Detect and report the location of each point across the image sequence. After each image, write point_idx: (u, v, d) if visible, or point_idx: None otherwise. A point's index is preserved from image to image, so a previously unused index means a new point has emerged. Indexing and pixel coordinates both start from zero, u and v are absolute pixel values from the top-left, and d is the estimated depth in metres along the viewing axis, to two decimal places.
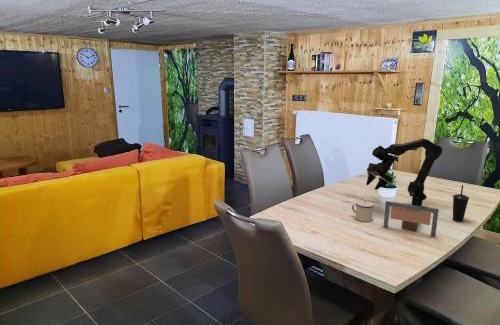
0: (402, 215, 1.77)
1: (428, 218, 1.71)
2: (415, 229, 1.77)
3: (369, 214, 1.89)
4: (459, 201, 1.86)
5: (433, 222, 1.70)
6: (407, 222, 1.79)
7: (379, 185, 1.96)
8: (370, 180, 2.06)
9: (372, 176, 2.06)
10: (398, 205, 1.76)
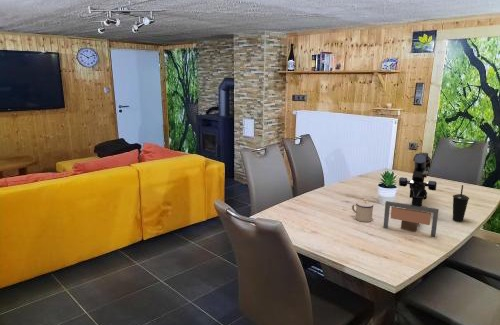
0: (402, 215, 1.77)
1: (428, 218, 1.71)
2: (414, 229, 1.77)
3: (369, 214, 1.89)
4: (459, 201, 1.86)
5: (433, 222, 1.70)
6: (406, 222, 1.79)
7: (418, 192, 1.92)
8: (415, 192, 1.93)
9: (415, 187, 1.94)
10: (398, 205, 1.76)
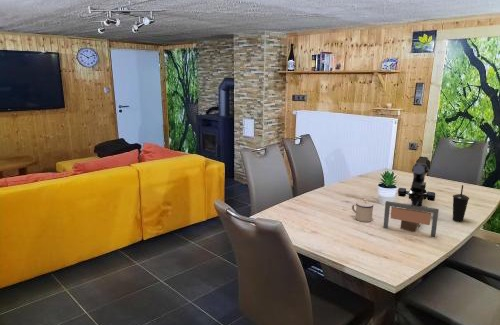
0: (402, 215, 1.77)
1: (428, 218, 1.71)
2: (414, 229, 1.77)
3: (369, 214, 1.89)
4: (459, 201, 1.86)
5: (433, 222, 1.70)
6: (406, 222, 1.79)
7: (417, 203, 1.93)
8: (414, 202, 1.94)
9: (414, 198, 1.95)
10: (398, 205, 1.76)
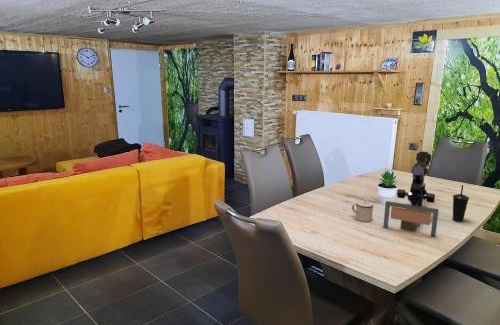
0: (402, 215, 1.77)
1: (428, 218, 1.71)
2: (414, 229, 1.77)
3: (369, 214, 1.89)
4: (459, 201, 1.86)
5: (433, 222, 1.70)
6: (406, 222, 1.79)
7: (416, 204, 1.90)
8: (413, 204, 1.91)
9: (413, 199, 1.92)
10: (398, 205, 1.76)
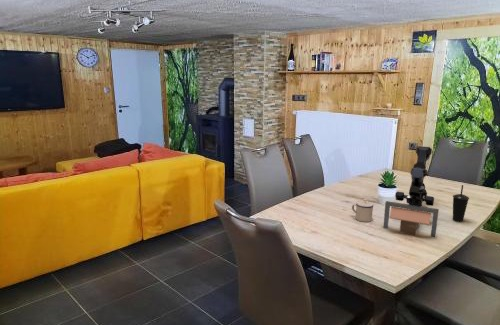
0: (402, 214, 1.74)
1: (428, 217, 1.69)
2: (413, 232, 1.73)
3: (369, 214, 1.89)
4: (459, 201, 1.86)
5: (433, 222, 1.70)
6: (405, 225, 1.75)
7: None
8: None
9: (412, 202, 1.89)
10: (398, 205, 1.76)
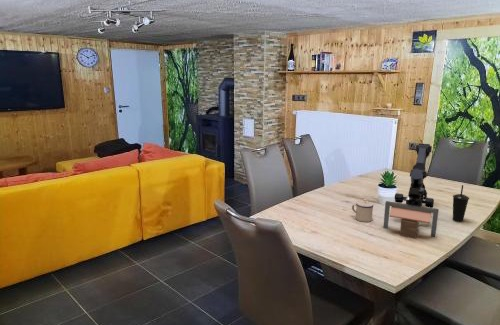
0: (402, 213, 1.74)
1: (428, 216, 1.68)
2: (414, 236, 1.70)
3: (369, 214, 1.89)
4: (459, 201, 1.86)
5: (433, 222, 1.70)
6: (405, 228, 1.71)
7: None
8: None
9: (411, 204, 1.85)
10: (398, 205, 1.76)
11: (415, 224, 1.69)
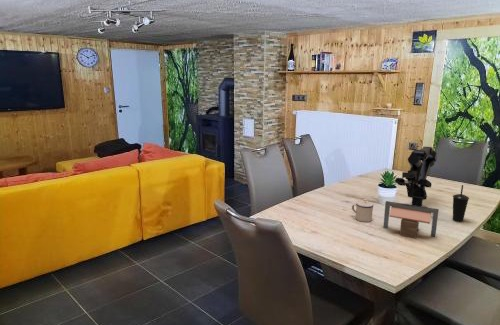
0: (402, 213, 1.74)
1: (428, 216, 1.68)
2: (414, 236, 1.70)
3: (369, 214, 1.89)
4: (459, 201, 1.86)
5: (433, 222, 1.70)
6: (405, 228, 1.71)
7: (412, 191, 1.93)
8: None
9: None
10: (398, 205, 1.76)
11: (415, 224, 1.68)
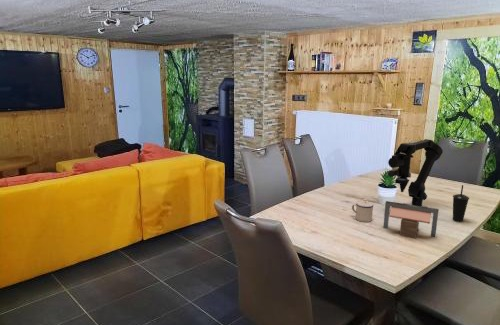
0: (402, 213, 1.74)
1: (428, 216, 1.68)
2: (414, 236, 1.70)
3: (369, 214, 1.89)
4: (459, 201, 1.86)
5: (433, 222, 1.70)
6: (405, 228, 1.71)
7: (402, 187, 2.00)
8: None
9: None
10: (398, 205, 1.76)
11: (415, 224, 1.68)
